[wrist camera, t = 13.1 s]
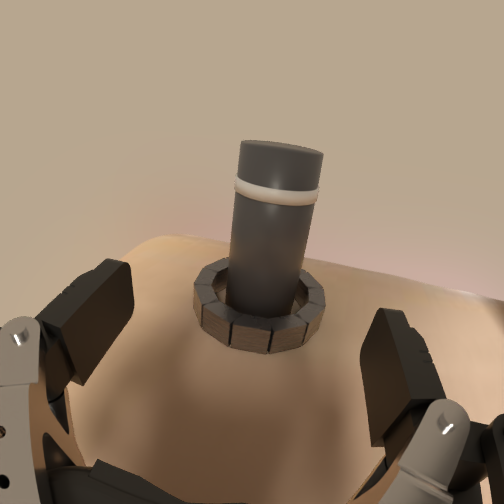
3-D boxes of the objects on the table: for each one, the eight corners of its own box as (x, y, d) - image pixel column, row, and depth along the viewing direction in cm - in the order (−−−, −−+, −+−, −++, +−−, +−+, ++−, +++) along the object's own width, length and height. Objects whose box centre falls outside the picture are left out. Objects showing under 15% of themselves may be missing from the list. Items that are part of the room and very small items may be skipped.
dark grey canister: (292, 296, 25) (321, 149, 19) (290, 337, 20) (329, 160, 15) (231, 285, 25) (246, 138, 20) (216, 324, 20) (230, 144, 15)
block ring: (315, 286, 26) (320, 266, 26) (320, 362, 18) (328, 339, 17) (213, 268, 27) (214, 248, 26) (177, 336, 19) (177, 312, 18)
